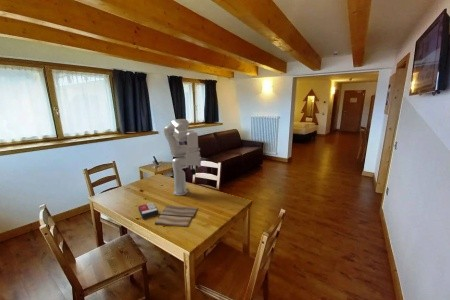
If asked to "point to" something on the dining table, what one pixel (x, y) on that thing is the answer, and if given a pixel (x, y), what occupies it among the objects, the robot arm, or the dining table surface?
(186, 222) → the plank
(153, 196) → the dining table surface
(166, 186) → the dining table surface
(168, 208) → the laid row
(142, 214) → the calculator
